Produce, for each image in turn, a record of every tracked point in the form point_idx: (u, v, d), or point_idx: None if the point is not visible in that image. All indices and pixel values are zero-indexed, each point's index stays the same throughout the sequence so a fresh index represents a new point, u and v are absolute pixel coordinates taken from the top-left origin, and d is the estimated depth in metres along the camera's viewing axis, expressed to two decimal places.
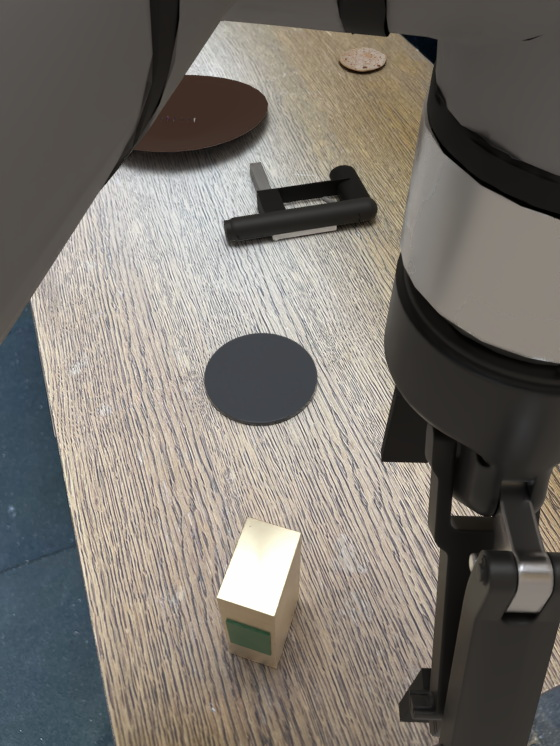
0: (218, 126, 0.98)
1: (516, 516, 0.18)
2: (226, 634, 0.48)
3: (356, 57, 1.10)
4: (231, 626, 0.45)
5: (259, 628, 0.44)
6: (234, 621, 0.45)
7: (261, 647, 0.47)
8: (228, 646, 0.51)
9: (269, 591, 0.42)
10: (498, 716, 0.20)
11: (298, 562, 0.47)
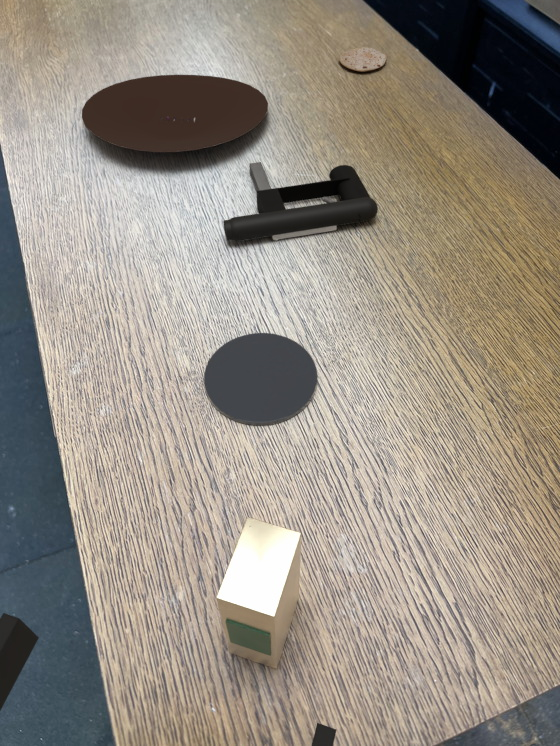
0: (218, 126, 0.98)
1: None
2: (226, 634, 0.48)
3: (356, 56, 1.10)
4: (231, 626, 0.45)
5: (259, 628, 0.44)
6: (234, 621, 0.45)
7: (261, 647, 0.47)
8: (228, 646, 0.51)
9: (269, 591, 0.42)
10: None
11: (298, 562, 0.47)
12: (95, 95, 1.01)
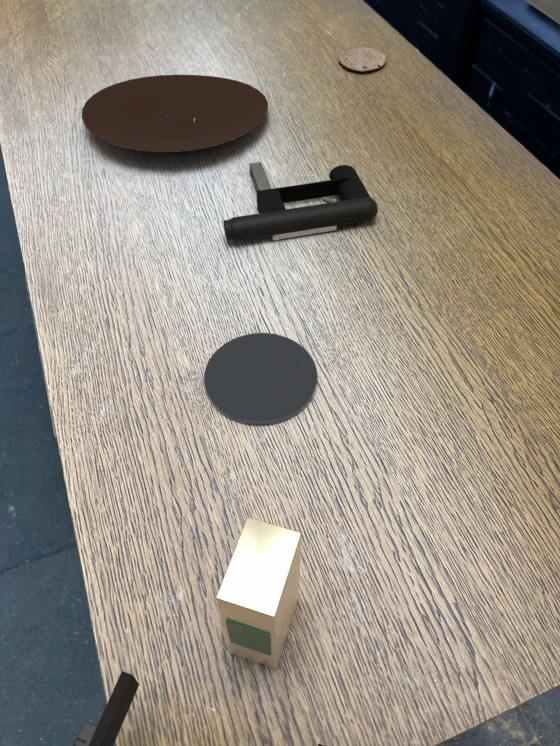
0: (218, 126, 0.98)
1: None
2: (226, 634, 0.48)
3: (356, 57, 1.10)
4: (231, 626, 0.45)
5: (259, 628, 0.44)
6: (234, 621, 0.45)
7: (261, 647, 0.47)
8: (228, 646, 0.51)
9: (269, 591, 0.42)
10: None
11: (298, 562, 0.47)
12: (95, 95, 1.01)
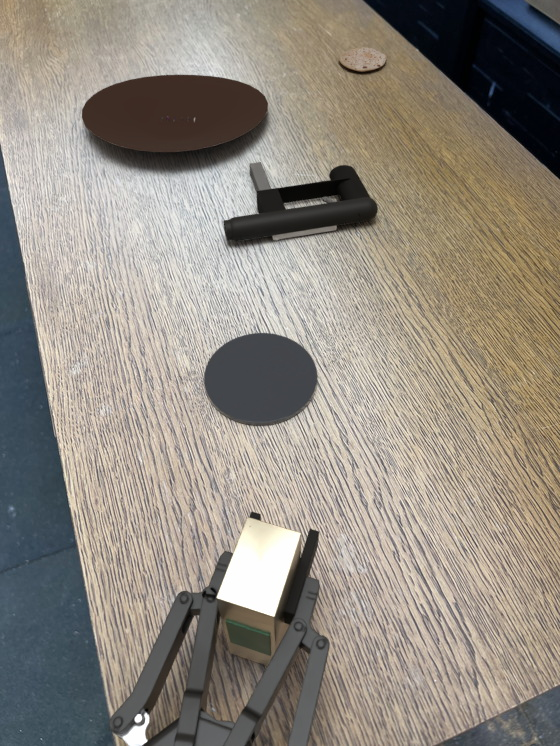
0: (218, 126, 0.98)
1: None
2: (226, 634, 0.48)
3: (356, 57, 1.10)
4: (231, 626, 0.45)
5: (259, 628, 0.44)
6: (234, 621, 0.45)
7: (261, 647, 0.47)
8: (228, 646, 0.51)
9: (269, 591, 0.42)
10: None
11: (298, 562, 0.47)
12: (95, 95, 1.01)
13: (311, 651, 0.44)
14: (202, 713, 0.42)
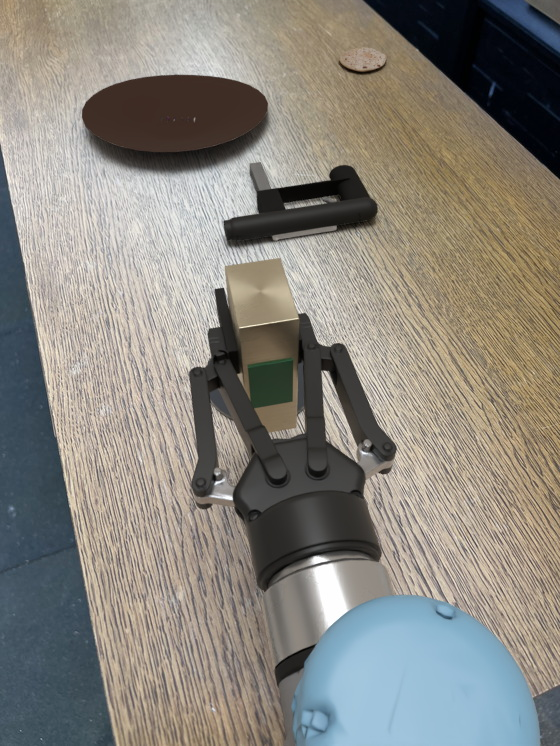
0: (218, 126, 0.98)
1: (224, 501, 0.40)
2: None
3: (356, 57, 1.10)
4: (254, 373, 0.45)
5: (282, 356, 0.45)
6: (256, 363, 0.45)
7: (284, 391, 0.48)
8: None
9: (282, 304, 0.43)
10: None
11: None
12: (95, 95, 1.01)
13: (334, 357, 0.46)
14: (272, 441, 0.42)
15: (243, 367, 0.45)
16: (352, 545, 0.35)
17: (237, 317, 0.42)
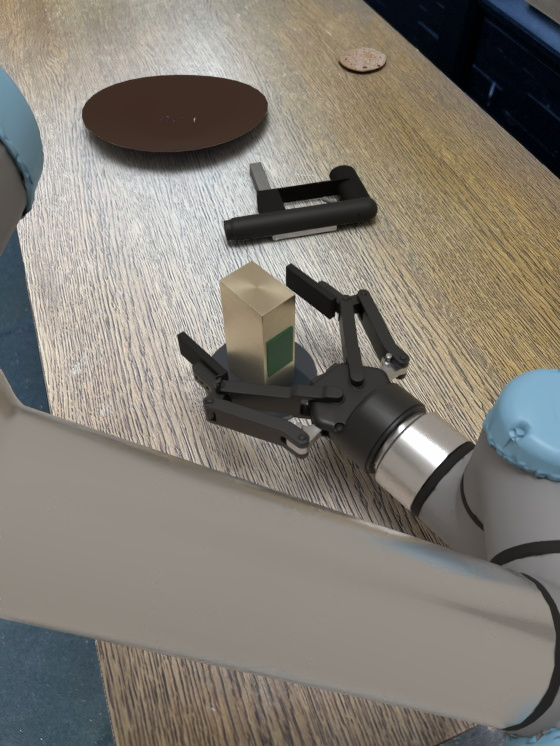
0: (218, 126, 0.98)
1: (317, 436, 0.54)
2: (265, 371, 0.62)
3: (356, 57, 1.10)
4: (271, 347, 0.60)
5: (286, 326, 0.60)
6: (271, 338, 0.60)
7: (287, 354, 0.63)
8: None
9: (278, 289, 0.58)
10: (238, 425, 0.55)
11: None
12: (95, 95, 1.01)
13: (360, 299, 0.63)
14: (315, 378, 0.57)
15: (264, 345, 0.59)
16: (416, 408, 0.52)
17: (255, 309, 0.57)
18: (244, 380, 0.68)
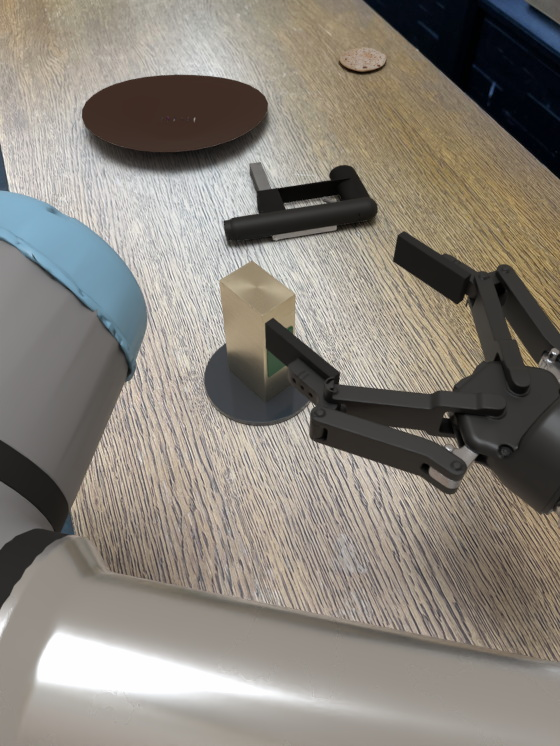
0: (218, 126, 0.98)
1: (472, 463, 0.39)
2: (265, 371, 0.62)
3: (356, 57, 1.10)
4: None
5: (286, 326, 0.60)
6: None
7: None
8: (265, 391, 0.65)
9: (278, 289, 0.58)
10: (359, 446, 0.40)
11: None
12: (95, 95, 1.01)
13: (503, 276, 0.47)
14: (460, 382, 0.42)
15: (264, 345, 0.59)
16: None
17: (255, 309, 0.57)
18: (244, 380, 0.68)
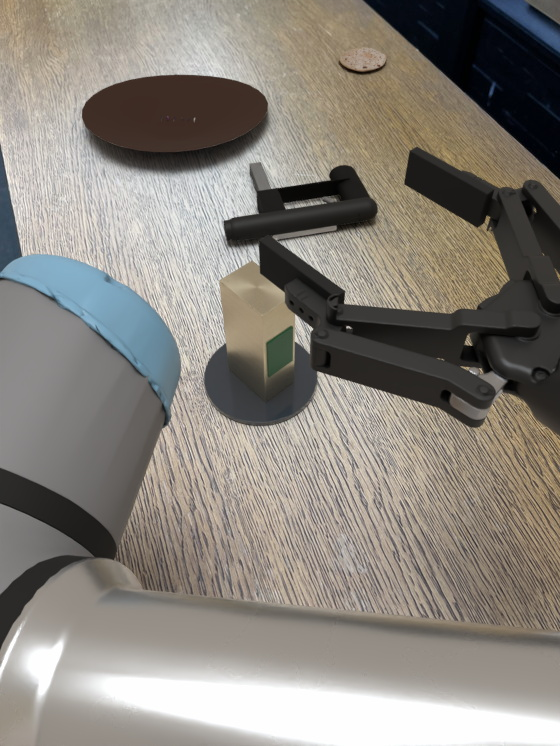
0: (218, 126, 0.98)
1: (501, 390, 0.33)
2: (265, 371, 0.62)
3: (356, 56, 1.10)
4: (271, 347, 0.60)
5: (286, 326, 0.60)
6: (271, 338, 0.60)
7: (287, 354, 0.63)
8: (265, 391, 0.65)
9: (278, 289, 0.58)
10: (367, 373, 0.34)
11: None
12: (95, 95, 1.01)
13: (530, 192, 0.42)
14: (485, 302, 0.36)
15: (264, 345, 0.59)
16: None
17: (255, 309, 0.57)
18: (244, 380, 0.68)
